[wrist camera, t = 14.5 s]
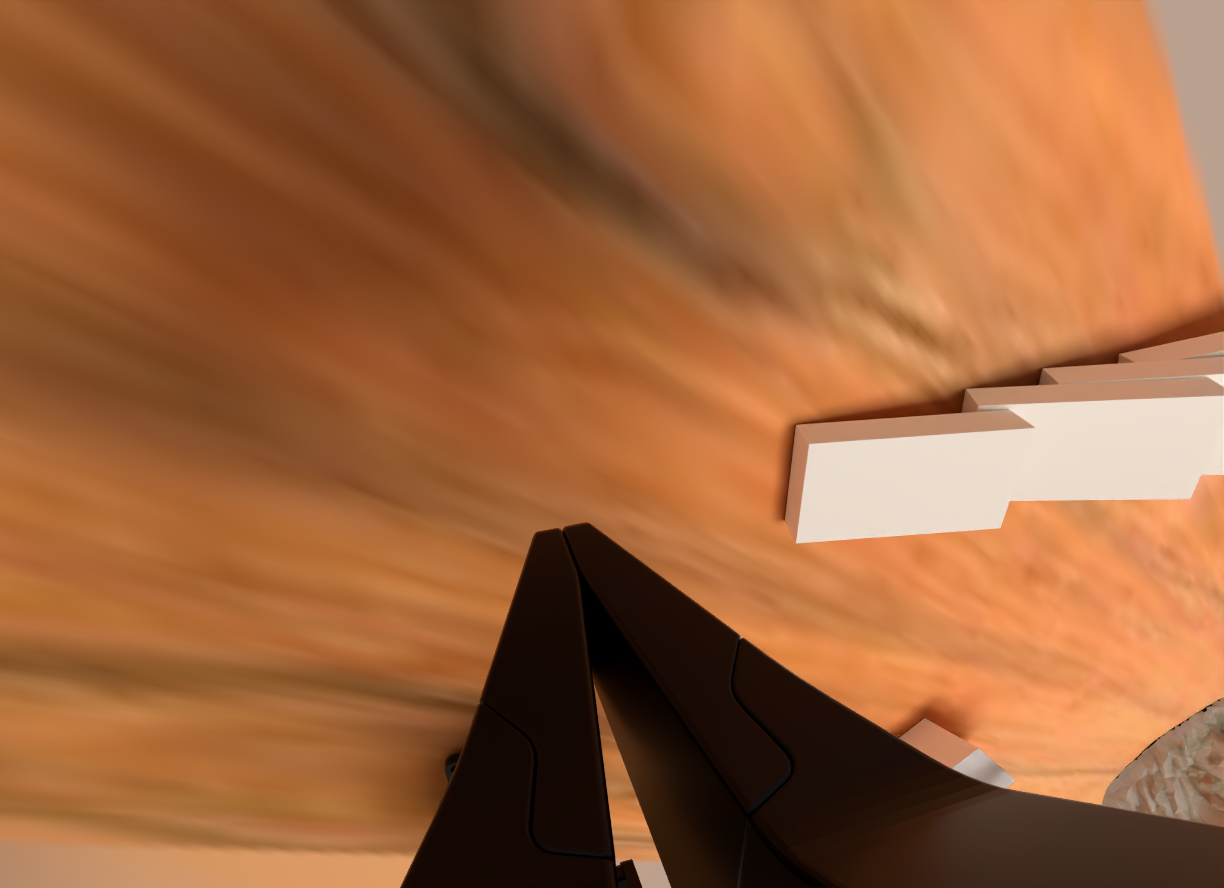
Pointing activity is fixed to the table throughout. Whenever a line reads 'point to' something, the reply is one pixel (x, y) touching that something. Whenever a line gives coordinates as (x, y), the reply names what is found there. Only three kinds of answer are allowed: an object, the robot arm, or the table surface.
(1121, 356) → the domino
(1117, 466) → the domino
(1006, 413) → the domino
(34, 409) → the table surface
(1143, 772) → the ceramic cottage
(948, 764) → the figurine
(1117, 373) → the domino
